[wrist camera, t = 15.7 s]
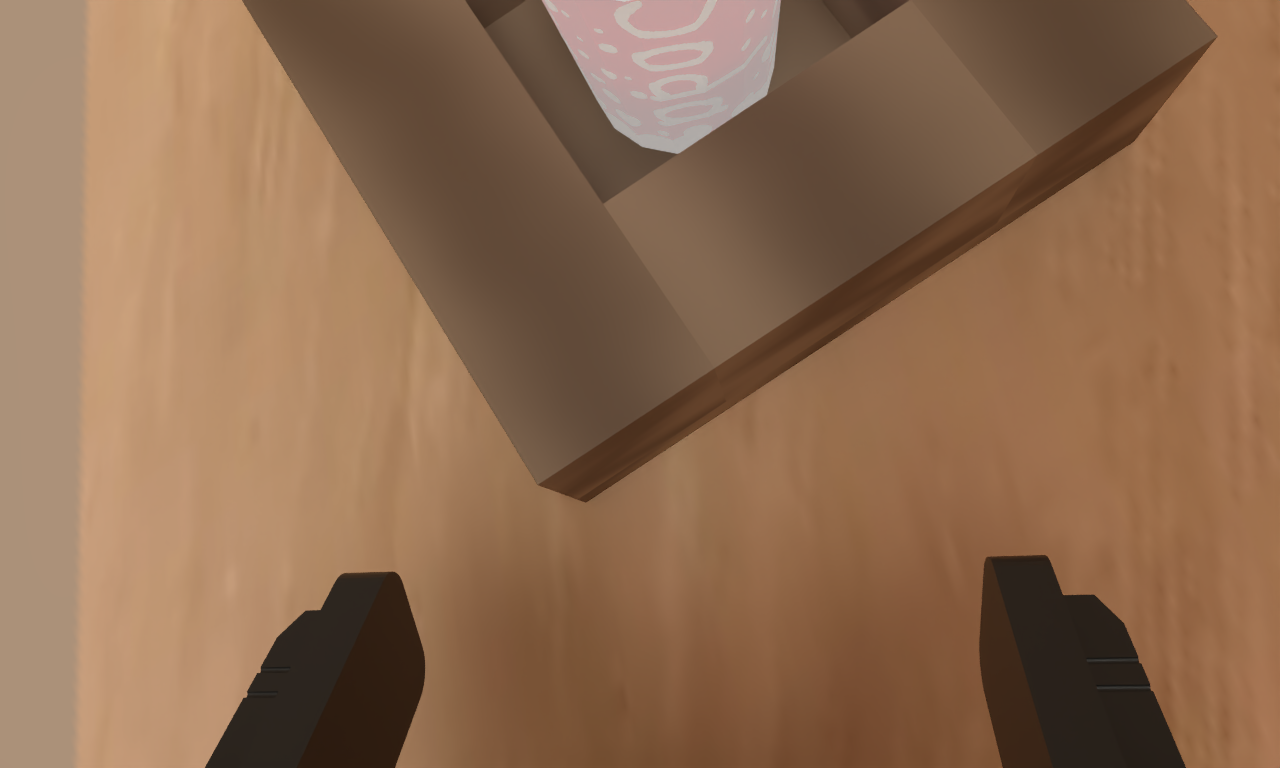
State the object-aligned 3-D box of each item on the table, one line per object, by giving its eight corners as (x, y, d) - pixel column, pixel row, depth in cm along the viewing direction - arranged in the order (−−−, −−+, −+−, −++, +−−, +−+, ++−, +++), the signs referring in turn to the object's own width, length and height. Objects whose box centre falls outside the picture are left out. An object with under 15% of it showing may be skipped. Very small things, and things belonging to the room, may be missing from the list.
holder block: (764, -295, 29) (760, -474, 24) (1133, 141, 25) (1217, 36, 20) (289, 24, 29) (188, -87, 24) (585, 502, 25) (537, 484, 20)
